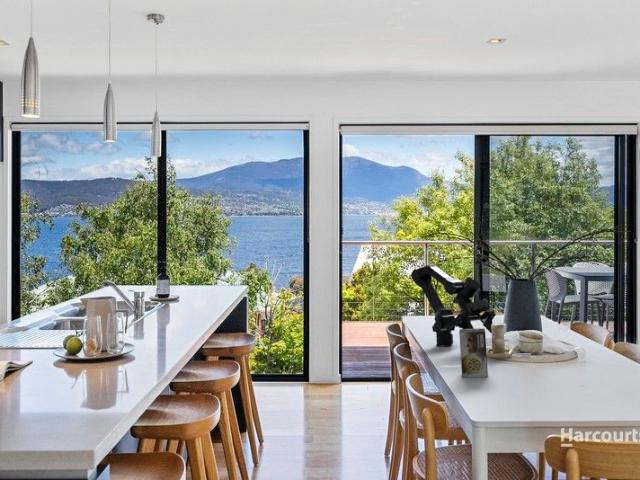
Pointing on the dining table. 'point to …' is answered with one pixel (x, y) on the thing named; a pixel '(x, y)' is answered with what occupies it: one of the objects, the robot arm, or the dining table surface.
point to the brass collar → (502, 355)
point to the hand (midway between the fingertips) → (484, 334)
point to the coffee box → (473, 352)
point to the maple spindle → (498, 338)
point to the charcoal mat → (524, 356)
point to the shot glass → (504, 327)
